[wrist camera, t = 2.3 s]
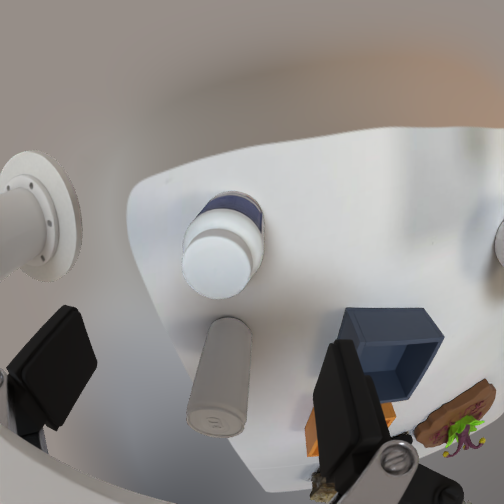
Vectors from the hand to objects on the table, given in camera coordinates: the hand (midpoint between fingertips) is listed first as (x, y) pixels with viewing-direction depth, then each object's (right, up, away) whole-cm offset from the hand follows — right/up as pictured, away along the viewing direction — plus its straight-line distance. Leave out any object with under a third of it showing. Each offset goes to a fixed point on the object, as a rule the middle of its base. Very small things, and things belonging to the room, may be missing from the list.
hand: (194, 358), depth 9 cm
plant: (+45, -30, +29) cm, 61 cm away
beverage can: (0, -5, +20) cm, 21 cm away
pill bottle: (0, +7, +15) cm, 17 cm away
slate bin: (+17, -7, +20) cm, 27 cm away
